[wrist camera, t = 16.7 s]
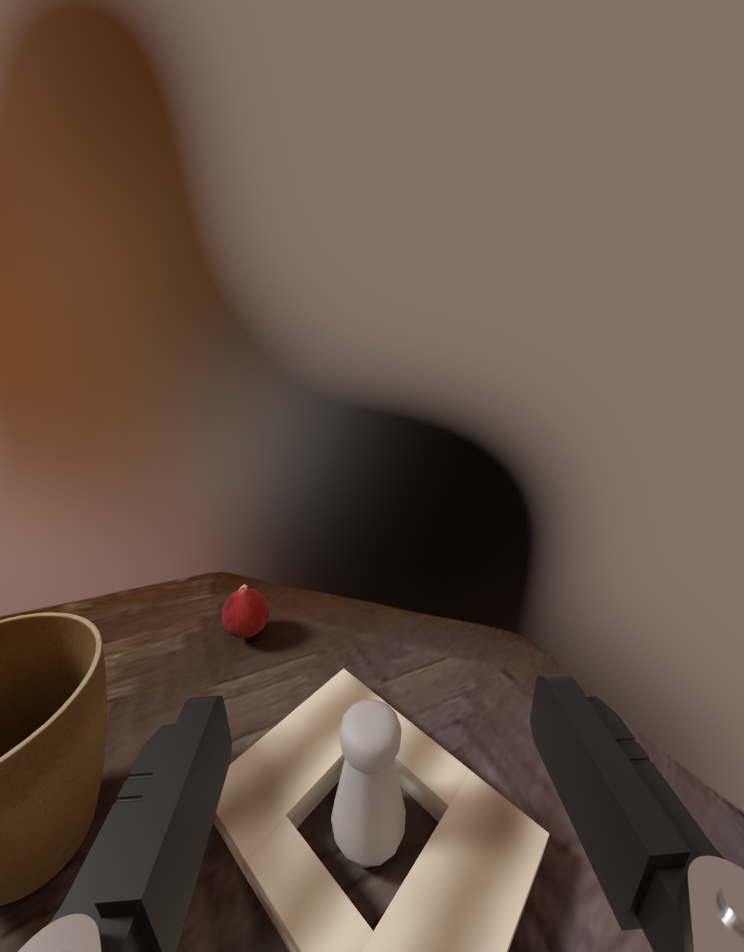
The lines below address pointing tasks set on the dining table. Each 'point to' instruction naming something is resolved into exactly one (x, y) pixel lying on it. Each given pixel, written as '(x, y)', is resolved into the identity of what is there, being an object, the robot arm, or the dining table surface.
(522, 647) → the dining table surface
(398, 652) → the dining table surface
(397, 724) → the salt shaker
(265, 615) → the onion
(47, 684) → the plant pot
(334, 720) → the hole board
